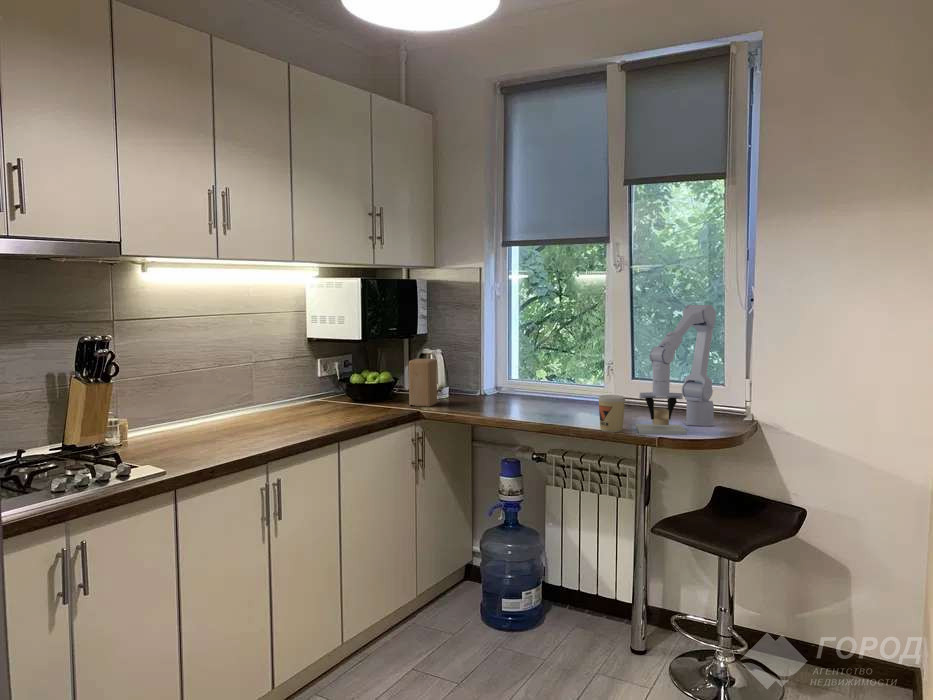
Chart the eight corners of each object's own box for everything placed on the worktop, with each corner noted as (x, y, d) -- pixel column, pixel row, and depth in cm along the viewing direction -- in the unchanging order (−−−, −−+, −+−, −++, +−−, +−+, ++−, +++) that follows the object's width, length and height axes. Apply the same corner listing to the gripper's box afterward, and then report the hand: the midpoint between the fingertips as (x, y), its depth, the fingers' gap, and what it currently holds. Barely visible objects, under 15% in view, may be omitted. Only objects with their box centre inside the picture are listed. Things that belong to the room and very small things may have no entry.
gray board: (680, 427, 259) (680, 424, 259) (686, 434, 247) (686, 431, 247) (635, 427, 261) (635, 423, 261) (639, 433, 249) (639, 430, 249)
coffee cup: (593, 428, 259) (593, 395, 258) (615, 426, 262) (615, 394, 261) (607, 433, 250) (607, 399, 249) (630, 431, 254) (630, 397, 253)
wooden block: (408, 406, 311) (407, 360, 309) (416, 402, 320) (416, 358, 319) (430, 407, 308) (429, 360, 306) (437, 403, 317) (437, 358, 316)
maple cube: (666, 422, 256) (666, 408, 256) (668, 424, 251) (668, 410, 251) (652, 422, 257) (652, 408, 257) (654, 424, 252) (654, 410, 252)
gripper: (641, 382, 250) (640, 420, 251) (684, 382, 248) (683, 421, 249) (639, 379, 257) (638, 417, 258) (680, 379, 255) (680, 417, 256)
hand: (660, 419), depth 254 cm, fingers open, 5 cm apart
